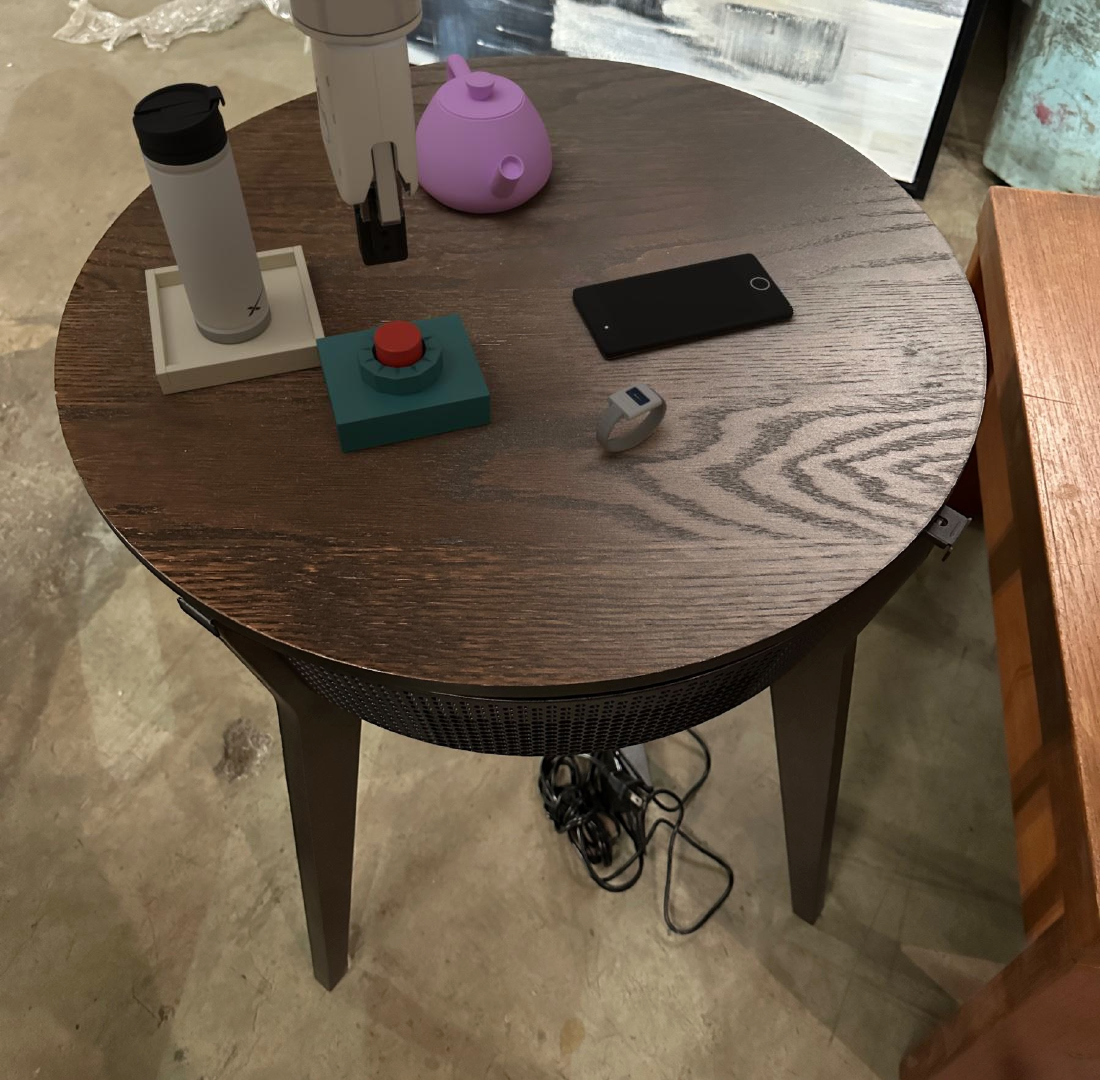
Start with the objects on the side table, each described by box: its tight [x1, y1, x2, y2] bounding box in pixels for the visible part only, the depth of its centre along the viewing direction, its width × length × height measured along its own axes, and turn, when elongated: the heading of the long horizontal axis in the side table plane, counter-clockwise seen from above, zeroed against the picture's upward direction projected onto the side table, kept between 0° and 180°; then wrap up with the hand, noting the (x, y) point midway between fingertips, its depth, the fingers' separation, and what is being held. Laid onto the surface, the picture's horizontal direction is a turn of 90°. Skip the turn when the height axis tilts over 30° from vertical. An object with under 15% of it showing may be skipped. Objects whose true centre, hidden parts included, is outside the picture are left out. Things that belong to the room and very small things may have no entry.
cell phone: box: [572, 252, 795, 360], centre depth 91 cm, size 9×18×1 cm, turn 109°
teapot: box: [415, 53, 553, 214], centre depth 98 cm, size 14×20×11 cm
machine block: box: [316, 313, 492, 454], centre depth 82 cm, size 12×10×5 cm
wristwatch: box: [595, 380, 668, 453], centre depth 80 cm, size 6×3×5 cm, turn 126°
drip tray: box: [144, 245, 326, 396], centre depth 88 cm, size 14×14×2 cm
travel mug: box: [132, 82, 271, 343], centre depth 80 cm, size 6×7×20 cm
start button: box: [374, 320, 423, 368], centre depth 80 cm, size 4×4×2 cm
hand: (384, 256), depth 73 cm, fingers closed
